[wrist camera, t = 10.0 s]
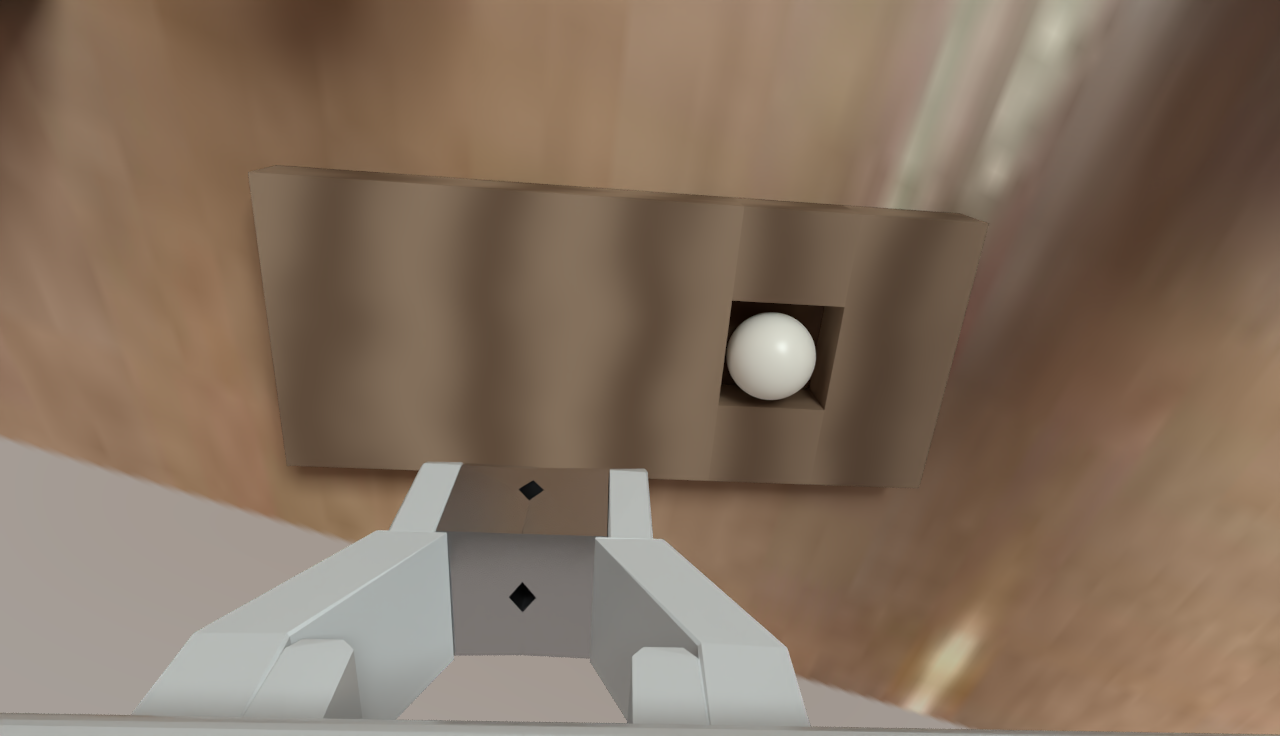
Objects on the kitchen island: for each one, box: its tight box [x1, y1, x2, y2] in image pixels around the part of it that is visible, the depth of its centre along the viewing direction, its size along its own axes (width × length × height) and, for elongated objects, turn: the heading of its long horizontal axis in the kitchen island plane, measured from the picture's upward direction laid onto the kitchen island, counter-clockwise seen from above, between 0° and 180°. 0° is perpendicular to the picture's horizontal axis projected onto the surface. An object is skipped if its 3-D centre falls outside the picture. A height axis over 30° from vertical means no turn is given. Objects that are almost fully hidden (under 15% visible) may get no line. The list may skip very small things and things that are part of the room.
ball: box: [726, 312, 816, 400], centre depth 31 cm, size 4×4×4 cm
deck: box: [248, 165, 989, 488], centre depth 31 cm, size 30×13×2 cm, turn 86°
